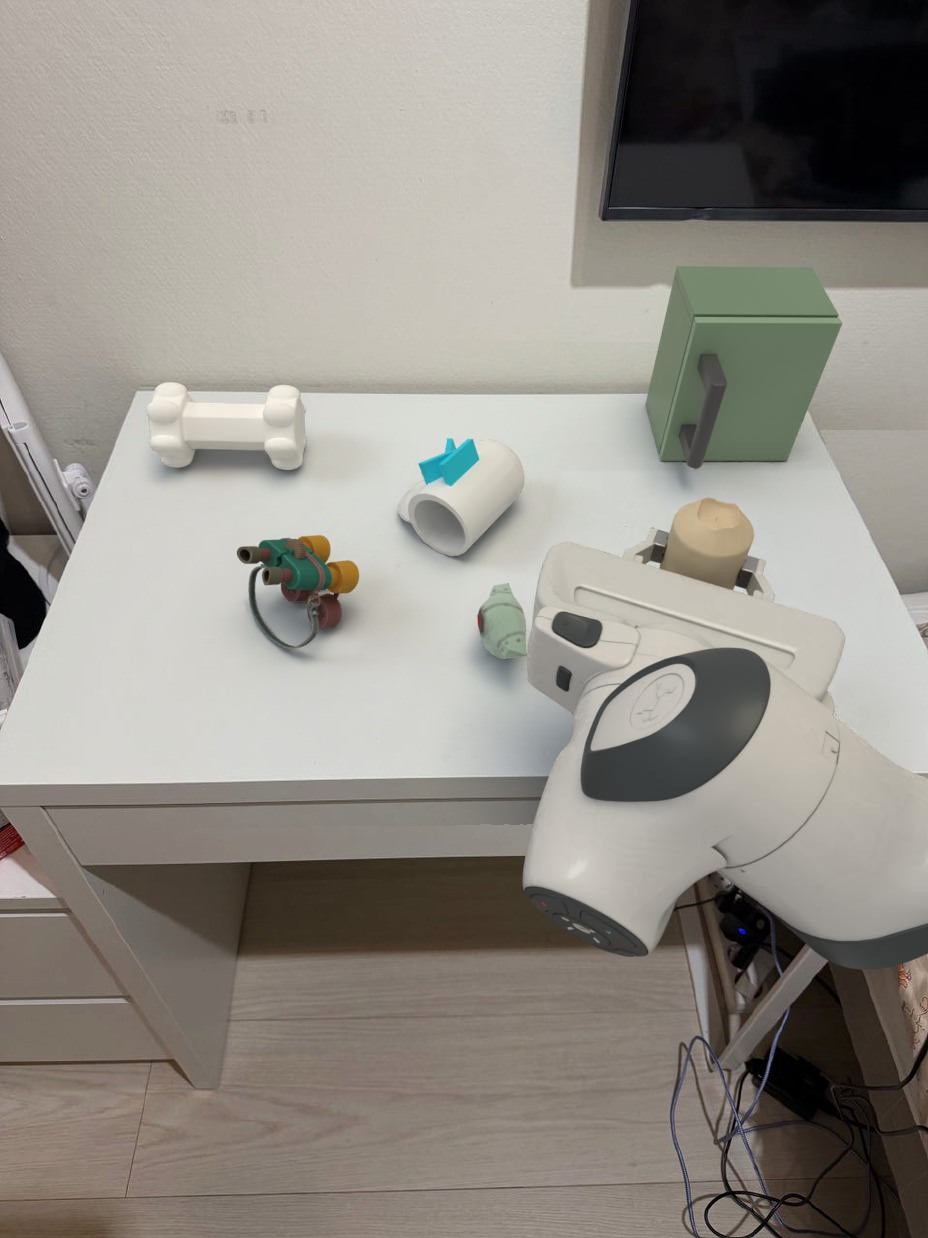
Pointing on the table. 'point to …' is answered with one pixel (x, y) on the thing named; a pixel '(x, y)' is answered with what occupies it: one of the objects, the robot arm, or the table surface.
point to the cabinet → (725, 298)
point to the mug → (462, 494)
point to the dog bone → (227, 426)
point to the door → (746, 387)
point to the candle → (708, 542)
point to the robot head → (502, 624)
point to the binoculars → (301, 579)
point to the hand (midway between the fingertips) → (705, 549)
